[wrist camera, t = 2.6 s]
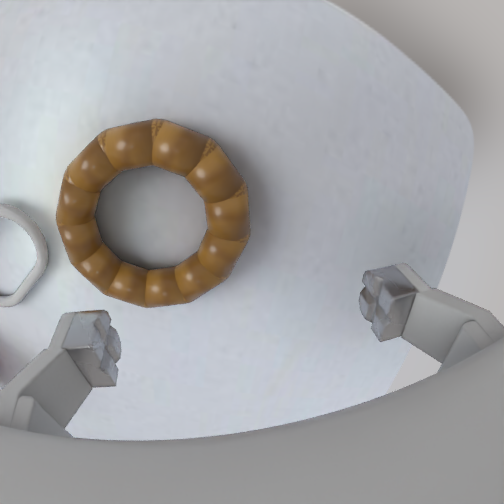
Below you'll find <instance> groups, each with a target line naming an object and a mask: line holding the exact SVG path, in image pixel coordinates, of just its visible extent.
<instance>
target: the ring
mask: <svg viewBox="0 0 504 504" xmlns="http://www.w3.org/2000/svg"><path fill="white" fill-rule="evenodd" d="M152 165H153V166H156V167H159V168H162V169H164V170H167V171H170V172H173V173H175V174H178V175H181V176H183V177H185V178H186V179H187V181H188V182H189V183H190V184H191V186H192V187H193V188H194V189H195V190H196V192H197V193H198V194H199V195H200V197H201V198H202V199H203V200H204V203H205V211H206V218H207V225H208V229H207V231H206V234H205V236H204V238H203V240H202V242H201V245H200V247H199V249H198V251H197V252H196V253H194V254H193V255H191V256H190V257H189V258H187V259H186V260H184V261H183V262H182V263H180V264H179V265H177V266H175V267H168V268H160V269H153V270H147V269H144V268H141V267H138V266H135V265H132V264H129V263H126V262H123V261H121V260H120V259H119V258H118V257H117V256H116V255H115V254H114V253H113V252H112V251H111V250H110V249H109V248H108V247H107V246H106V245H105V244H104V243H103V242H102V239H101V236H100V233H99V229H98V226H97V222H96V219H95V212H96V208H97V204H98V200H99V196H100V193H101V190H102V189H103V188H104V187H105V186H106V185H107V184H108V183H109V182H110V181H112V180H113V179H114V178H115V177H116V176H117V175H118V174H119V173H120V172H121V171H125V170H130V169H135V168H141V167H146V166H152ZM56 222H57V226H58V229H59V232H60V235H61V238H62V241H63V243H64V246H65V249H66V252H67V254H68V257H69V260H70V262H71V264H72V265H73V266H74V267H75V268H76V269H77V270H78V271H79V272H80V273H81V274H82V275H83V276H84V277H85V278H86V279H87V280H89V281H90V282H91V283H92V284H93V285H94V286H95V287H96V288H97V289H98V290H99V291H101V292H102V293H103V294H105V295H107V296H110V297H113V298H116V299H119V300H122V301H125V302H128V303H131V304H134V305H138V306H141V307H145V308H152V307H161V306H169V305H177V304H185V303H190V302H192V301H194V300H195V299H197V298H199V297H200V296H202V295H203V294H205V293H206V292H208V291H209V290H211V289H212V288H214V287H216V286H217V285H219V284H220V283H222V282H223V281H225V280H226V279H227V278H228V277H229V276H230V274H231V272H232V270H233V268H234V267H235V265H236V263H237V261H238V259H239V257H240V255H241V253H242V251H243V250H244V248H245V246H246V244H247V242H248V240H249V237H250V217H249V202H248V190H247V185H246V182H245V181H244V179H243V178H242V176H241V175H240V173H239V172H238V171H237V169H236V168H235V167H234V165H233V164H232V163H231V161H230V160H229V159H228V157H227V156H226V155H225V153H224V152H223V150H222V149H221V148H220V146H219V145H218V144H217V143H216V142H215V141H214V140H213V139H211V138H210V137H208V136H205V135H203V134H200V133H198V132H195V131H193V130H190V129H188V128H185V127H182V126H180V125H177V124H174V123H172V122H169V121H166V120H163V119H152V120H147V121H142V122H137V123H132V124H127V125H123V126H118V127H114V128H110V129H107V130H104V131H103V132H101V133H100V134H99V135H98V136H97V137H96V138H95V139H94V140H93V141H92V142H91V143H90V144H89V145H88V146H87V147H86V148H85V149H84V150H83V151H82V152H81V153H80V154H79V155H78V156H77V157H76V158H75V159H74V160H73V161H72V162H71V163H70V164H69V166H68V167H67V169H66V171H65V173H64V177H63V181H62V186H61V191H60V196H59V201H58V206H57V212H56Z"/></svg>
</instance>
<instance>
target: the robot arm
mask: <svg viewBox="0 0 504 504" xmlns="http://www.w3.org/2000/svg"><path fill="white" fill-rule="evenodd" d="M362 282H363V284H364V285H365V287H364V288H363V289H362V291H361V292H360V296H359V306H360V310H361V313H362V315H363V317H364V318H365V319H366V320H368V321H370V322H372V326H371V329H372V331H373V332H374V334H375V335H376V337H377V338H378V340H379V341H380V342H382V341H386V340H389V339H393V338H396V337H400V336H401V337H402V338H403V339H405V340H406V341H408V342H409V343H411V344H412V345H414V346H416V347H417V348H419V349H420V350H422V351H423V352H425V353H427V354H428V355H430V356H431V357H433V358H434V359H436V360H437V361H439V362H441V363H442V365H441V367H440V369H439V370H438V372H437V373H436V374H434V375H432V376H430V377H427V378H425V379H423V380H421V381H418V382H416V383H414V384H411V385H409V386H406V387H404V388H402V389H399V390H397V391H394V392H392V393H389V394H386V395H383V396H381V397H378V398H375V399H372V400H370V401H367V402H364V403H361V404H358V405H355V406H351V407H348V408H345V409H342V410H338V411H335V412H332V413H328V414H324V415H321V416H317V417H313V418H309V419H305V420H301V421H297V422H293V423H288V424H284V425H279V426H274V427H269V428H264V429H258V430H253V431H247V432H240V433H234V434H226V435H219V436H210V437H200V438H189V439H174V440H148V441H123V440H97V439H83V438H74V437H73V436H72V435H71V434H69V433H68V432H67V431H66V430H65V427H66V426H67V424H68V423H69V421H70V420H71V419H72V417H73V416H74V414H75V413H76V411H77V410H78V409H79V407H80V406H81V404H82V403H83V401H84V400H85V399H86V397H87V396H88V394H89V393H90V392H91V390H92V389H93V388H92V387H111V386H116V382H117V375H118V368H117V366H116V364H115V363H116V362H117V361H118V360H119V359H120V356H121V342H120V338H119V335H118V333H117V331H116V329H114V328H113V327H111V326H110V323H111V318H110V316H109V314H108V312H107V311H105V310H95V311H81V312H69V313H64V314H63V315H62V316H61V318H60V320H59V323H58V325H57V328H56V330H55V333H54V335H53V337H52V340H51V343H50V345H49V348H48V349H44V350H43V351H42V352H41V353H40V354H38V355H37V356H36V357H35V358H34V359H33V360H32V361H31V362H30V363H29V364H28V365H27V366H26V367H25V368H23V369H22V370H21V371H20V372H19V373H18V374H17V375H16V376H15V377H14V378H13V379H12V380H11V381H10V382H9V383H8V384H7V385H6V386H5V387H4V388H3V389H2V390H1V391H0V504H504V326H503V325H502V324H501V323H500V322H499V321H498V320H497V319H496V317H495V316H494V315H493V314H492V313H491V312H490V311H488V310H486V309H484V308H481V307H479V306H477V305H474V304H472V303H469V302H467V301H465V300H462V299H459V298H458V297H455V296H453V295H450V294H448V293H445V292H443V291H440V290H438V289H436V288H433V289H431V288H430V287H429V286H428V285H427V284H426V283H425V282H424V281H423V280H422V279H421V278H420V277H419V276H418V274H417V273H416V272H415V271H414V270H413V269H412V268H411V267H410V266H409V265H408V264H406V263H399V264H395V265H391V266H388V267H383V268H378V269H373V270H368V271H365V273H364V275H363V280H362Z"/></svg>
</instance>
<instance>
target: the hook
mask: <svg viewBox="0 0 504 504" xmlns="http://www.w3.org/2000/svg"><path fill="white" fill-rule="evenodd" d="M0 217H3V218H7V219H10V220H12V221H14V222H16V223H17V224H18V225H20V226H21V227H22V228H23V229H24V230H25V231H26V232H27V233H28V235H29V236H30V237H31V239H32V241H33V243H34V245H35V248H36V252H37V261H36V264H35V266H34V268H33V269H32V270H31V272H30V273H29V274H28V276H27V277H26V278H25V280H24V281H23V282H22V284H21V285H20V286H19V288H18V289H17V291H16V292H15V293H14V294H13V295H11V296H0V307H11V306H15V305H17V304H19V303H20V302H21V301H22V300H23V299H24V297H25V296H26V295H27V293H28V292H29V291H30V290H31V288H32V287H33V286H34V285H35V283H36V282H37V281H38V280H39V278H40V277H41V276H42V274H43V273H44V271H45V269H46V267H47V262H48V249H47V244H46V241H45V238H44V236H43V234H42V232H41V230H40V228H39V227H38V226H37V224H36V223H35V222H34V221H33V220H32V218H31V217H30V216H28V215H27V214H26V213H25V212H23V211H22V210H20V209H18V208H16V207H14V206H11V205H7V204H0Z"/></svg>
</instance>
